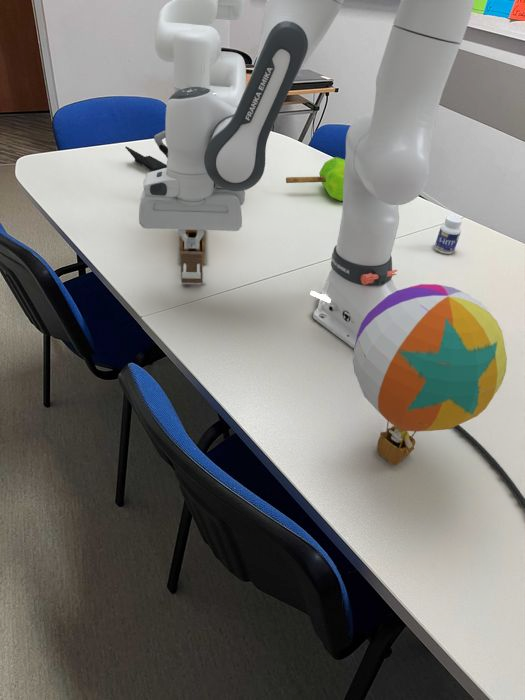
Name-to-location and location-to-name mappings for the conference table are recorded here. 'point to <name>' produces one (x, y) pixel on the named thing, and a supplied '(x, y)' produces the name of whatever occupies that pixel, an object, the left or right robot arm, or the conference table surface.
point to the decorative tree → (327, 177)
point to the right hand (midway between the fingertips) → (191, 247)
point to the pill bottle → (448, 235)
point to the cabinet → (202, 245)
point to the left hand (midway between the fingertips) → (193, 174)
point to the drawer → (191, 263)
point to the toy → (427, 362)
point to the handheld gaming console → (147, 161)
